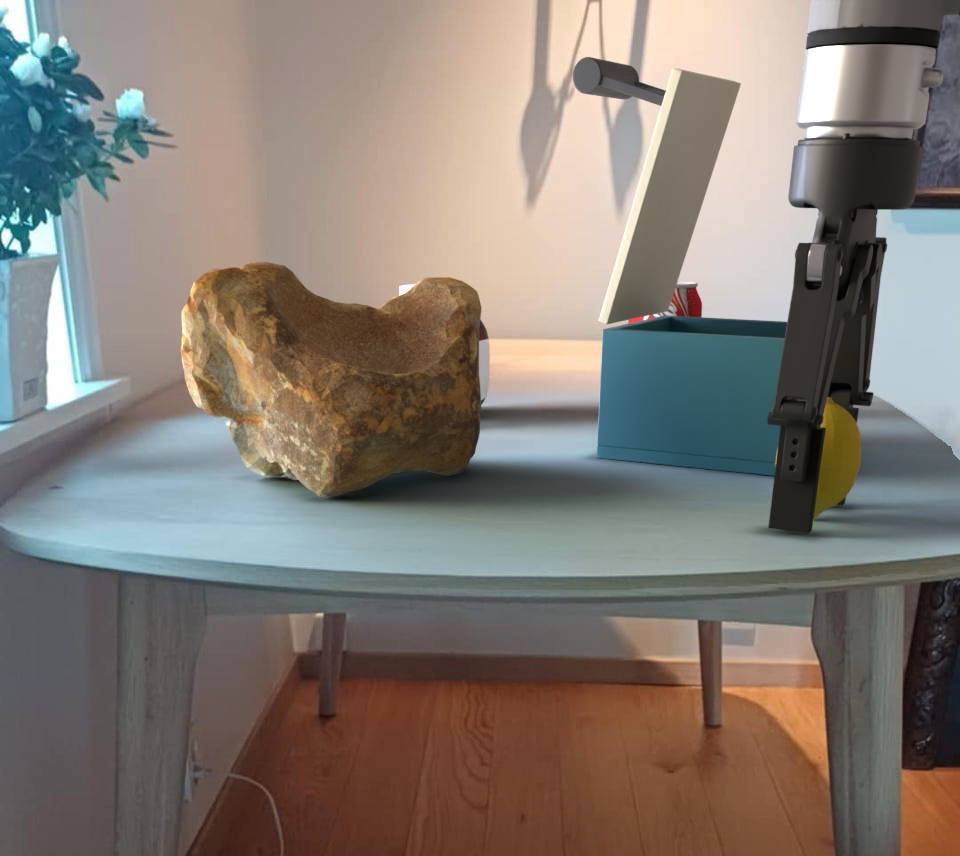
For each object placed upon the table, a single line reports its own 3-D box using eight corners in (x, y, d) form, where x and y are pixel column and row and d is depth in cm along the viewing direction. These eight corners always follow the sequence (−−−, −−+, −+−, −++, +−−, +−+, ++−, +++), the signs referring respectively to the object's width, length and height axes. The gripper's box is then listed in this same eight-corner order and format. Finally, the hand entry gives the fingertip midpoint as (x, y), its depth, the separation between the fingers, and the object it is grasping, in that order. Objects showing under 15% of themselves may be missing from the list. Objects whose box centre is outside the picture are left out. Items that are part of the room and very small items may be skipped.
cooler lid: (741, 83, 101) (635, 48, 103) (682, 70, 90) (565, 32, 92) (668, 311, 111) (572, 274, 113) (606, 324, 100) (503, 284, 102)
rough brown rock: (213, 527, 86) (201, 292, 78) (182, 461, 99) (169, 254, 92) (528, 514, 93) (547, 297, 85) (460, 454, 107) (470, 262, 99)
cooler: (839, 449, 109) (856, 325, 104) (796, 478, 98) (813, 341, 93) (655, 432, 116) (663, 315, 111) (596, 457, 105) (602, 329, 100)
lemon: (794, 531, 83) (809, 404, 79) (755, 512, 88) (767, 392, 84) (867, 525, 84) (886, 401, 81) (825, 507, 89) (841, 389, 85)
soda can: (618, 418, 123) (625, 284, 117) (627, 407, 129) (635, 279, 123) (690, 421, 121) (701, 285, 116) (697, 410, 127) (707, 280, 122)
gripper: (885, 127, 65) (823, 558, 76) (953, 140, 82) (895, 492, 93) (745, 128, 68) (705, 542, 79) (839, 140, 85) (795, 481, 96)
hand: (808, 515), depth 86 cm, fingers open, 8 cm apart
